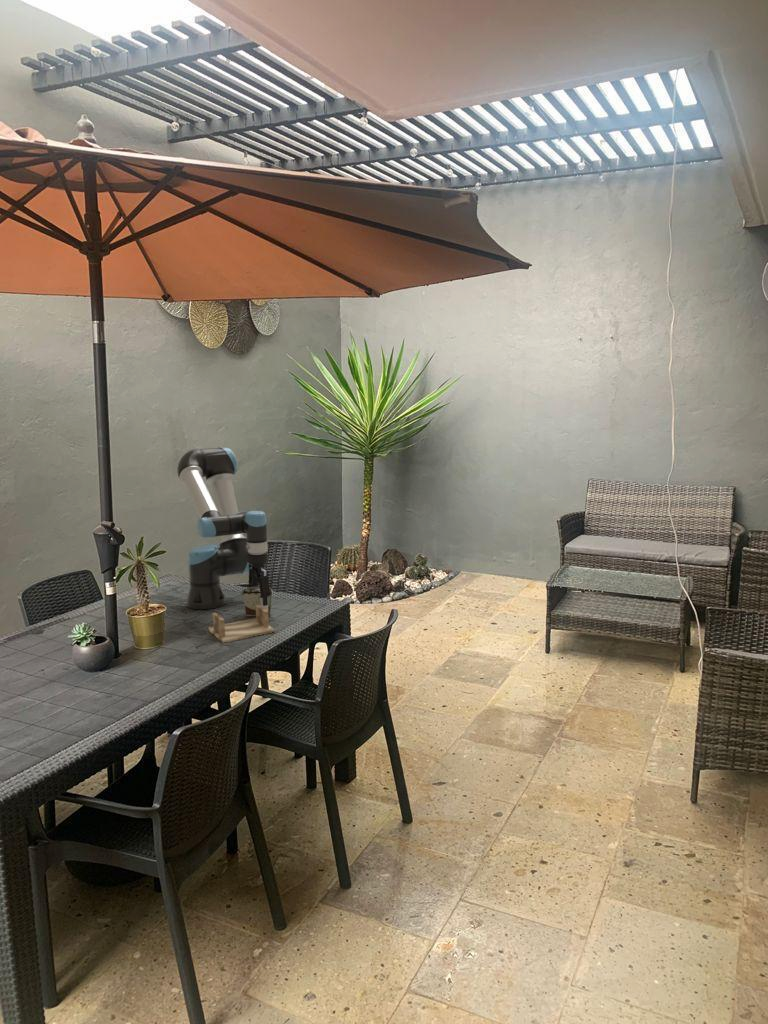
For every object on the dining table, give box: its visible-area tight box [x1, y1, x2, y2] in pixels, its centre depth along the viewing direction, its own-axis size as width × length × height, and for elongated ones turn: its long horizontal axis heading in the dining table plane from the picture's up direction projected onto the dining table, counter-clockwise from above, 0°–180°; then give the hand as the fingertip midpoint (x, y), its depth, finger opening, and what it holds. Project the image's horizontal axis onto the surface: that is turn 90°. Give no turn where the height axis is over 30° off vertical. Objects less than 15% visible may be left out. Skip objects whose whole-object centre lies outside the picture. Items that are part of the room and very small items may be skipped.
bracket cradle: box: [207, 605, 276, 644], centre depth 260 cm, size 16×19×7 cm
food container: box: [240, 586, 274, 617], centre depth 279 cm, size 12×6×10 cm, turn 85°
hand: (260, 610), depth 279 cm, fingers closed on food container, 8 cm apart
